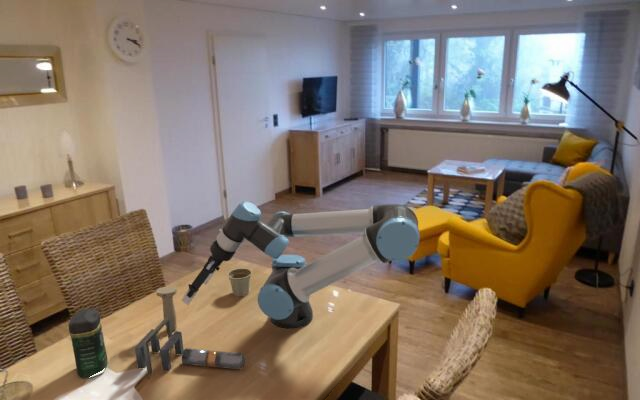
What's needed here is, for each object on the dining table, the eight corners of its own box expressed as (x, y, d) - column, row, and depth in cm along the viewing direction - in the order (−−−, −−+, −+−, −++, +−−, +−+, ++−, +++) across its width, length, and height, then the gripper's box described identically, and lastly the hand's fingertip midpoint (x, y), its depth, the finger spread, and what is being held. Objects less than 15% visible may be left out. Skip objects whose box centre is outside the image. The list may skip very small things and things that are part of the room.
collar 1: (160, 349, 142) (157, 329, 140) (144, 368, 133) (140, 348, 131) (154, 349, 142) (151, 329, 140) (137, 368, 133) (134, 347, 131)
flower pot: (233, 287, 182) (231, 267, 179) (256, 288, 180) (254, 268, 178) (225, 298, 173) (223, 278, 170) (249, 299, 172) (247, 279, 169)
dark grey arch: (183, 351, 141) (181, 331, 138) (168, 371, 131) (165, 350, 129) (178, 351, 141) (175, 331, 139) (162, 370, 132) (159, 349, 130)
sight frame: (173, 346, 143) (169, 316, 140) (150, 374, 130) (145, 342, 127) (171, 346, 144) (167, 315, 140) (147, 374, 130) (142, 341, 127)
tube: (244, 362, 134) (243, 350, 133) (240, 372, 130) (238, 359, 129) (189, 357, 138) (187, 345, 136) (182, 366, 133) (180, 354, 132)
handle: (179, 333, 151) (173, 293, 146) (159, 333, 150) (154, 293, 146) (183, 325, 155) (178, 286, 151) (164, 325, 155) (159, 286, 151)
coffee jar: (105, 376, 130) (95, 320, 125) (75, 382, 128) (63, 325, 123) (110, 356, 139) (100, 303, 134) (82, 362, 137) (71, 308, 131)
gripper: (230, 224, 151) (200, 268, 158) (199, 253, 127) (166, 304, 134) (248, 236, 151) (218, 281, 158) (221, 268, 128) (186, 318, 135)
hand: (194, 291), depth 146 cm, fingers open, 13 cm apart
